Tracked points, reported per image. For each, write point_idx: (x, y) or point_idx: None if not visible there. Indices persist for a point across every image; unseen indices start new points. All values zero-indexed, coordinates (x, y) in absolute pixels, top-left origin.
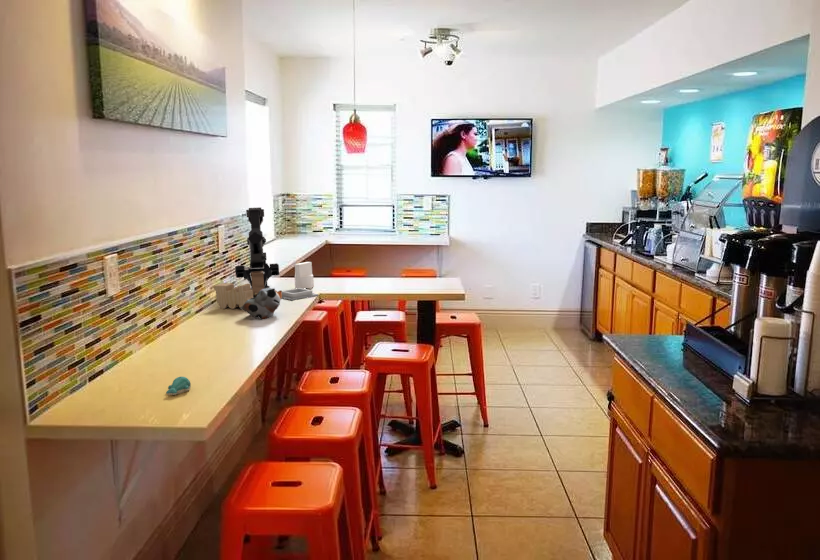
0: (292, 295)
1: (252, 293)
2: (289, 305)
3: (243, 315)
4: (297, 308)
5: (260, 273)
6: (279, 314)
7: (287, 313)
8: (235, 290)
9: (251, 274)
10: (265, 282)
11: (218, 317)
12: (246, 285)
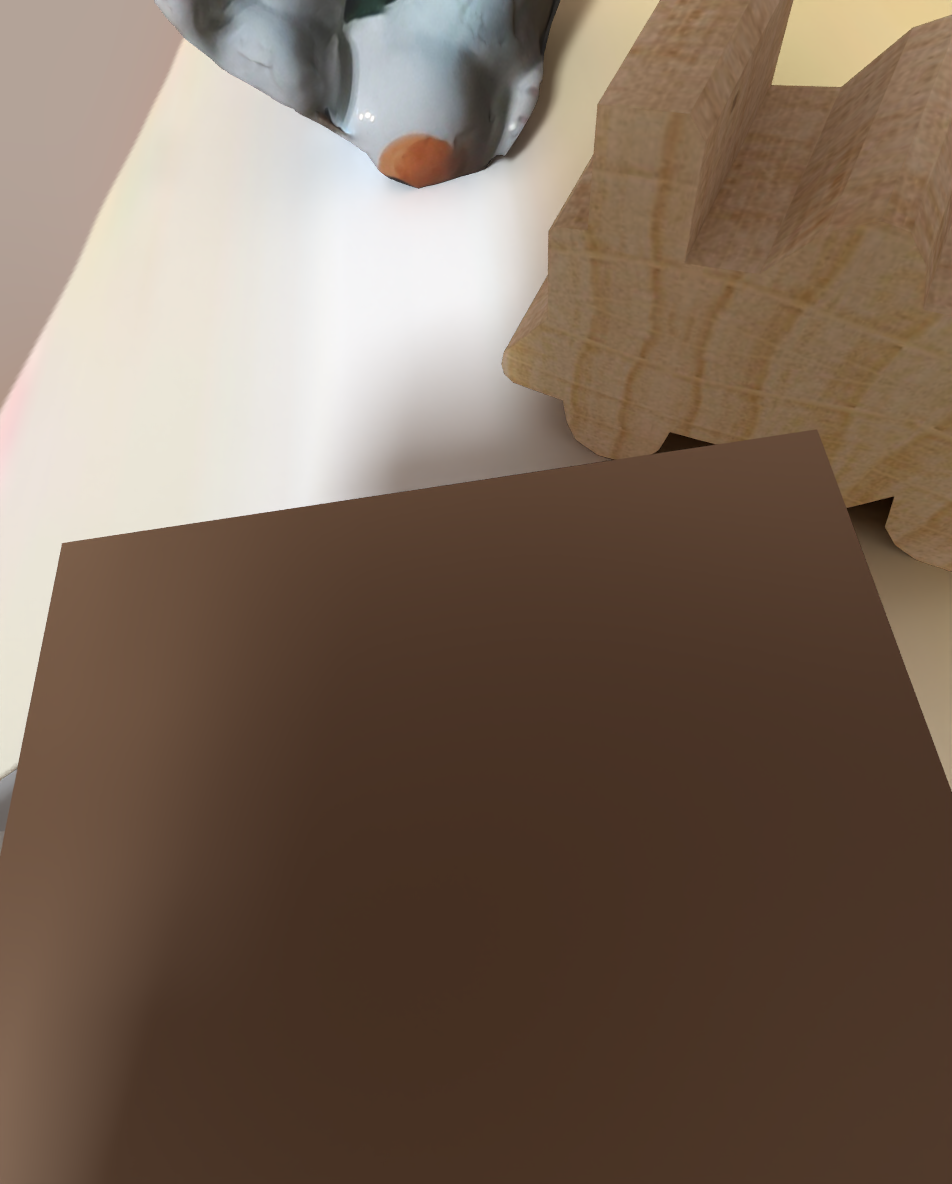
0: None
1: (554, 281)
2: (150, 457)
3: (588, 127)
4: (103, 321)
5: (229, 530)
6: (277, 147)
7: (213, 172)
8: (866, 66)
9: (774, 468)
10: None
11: (821, 74)
12: (657, 15)
